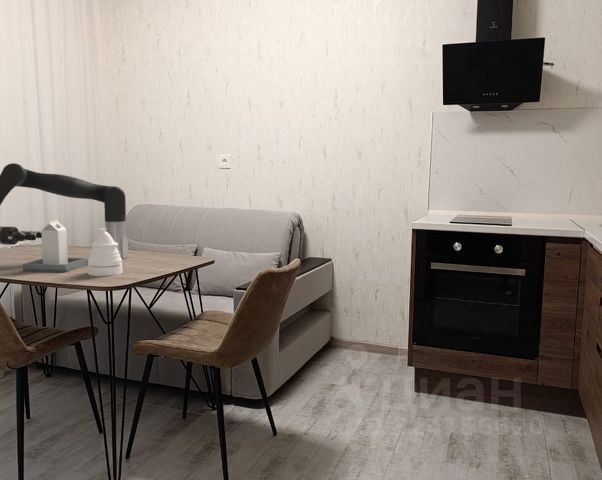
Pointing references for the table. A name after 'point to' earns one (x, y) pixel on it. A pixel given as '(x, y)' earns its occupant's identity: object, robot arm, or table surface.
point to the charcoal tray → (54, 265)
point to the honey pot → (104, 256)
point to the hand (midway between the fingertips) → (41, 236)
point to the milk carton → (54, 243)
